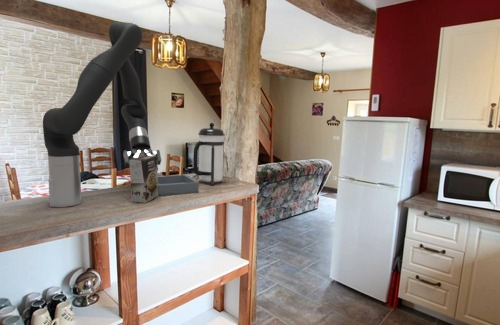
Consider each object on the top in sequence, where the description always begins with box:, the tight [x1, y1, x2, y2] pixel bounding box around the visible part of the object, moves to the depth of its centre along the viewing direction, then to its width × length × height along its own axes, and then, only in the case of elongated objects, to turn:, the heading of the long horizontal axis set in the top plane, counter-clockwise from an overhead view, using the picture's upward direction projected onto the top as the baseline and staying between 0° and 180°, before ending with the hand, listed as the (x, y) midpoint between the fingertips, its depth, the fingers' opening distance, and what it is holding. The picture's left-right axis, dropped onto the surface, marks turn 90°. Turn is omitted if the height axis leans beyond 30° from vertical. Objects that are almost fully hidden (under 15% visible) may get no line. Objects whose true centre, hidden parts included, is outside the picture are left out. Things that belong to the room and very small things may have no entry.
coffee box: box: [129, 155, 159, 204], centre depth 111 cm, size 9×6×16 cm
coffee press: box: [192, 122, 226, 186], centre depth 143 cm, size 17×16×30 cm
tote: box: [157, 174, 199, 197], centre depth 129 cm, size 17×19×4 cm
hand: (145, 172), depth 113 cm, fingers closed on coffee box, 7 cm apart
